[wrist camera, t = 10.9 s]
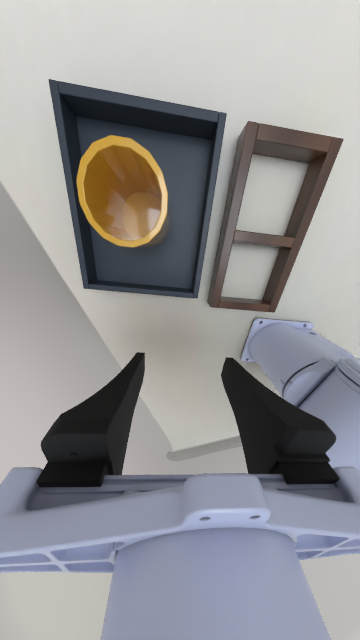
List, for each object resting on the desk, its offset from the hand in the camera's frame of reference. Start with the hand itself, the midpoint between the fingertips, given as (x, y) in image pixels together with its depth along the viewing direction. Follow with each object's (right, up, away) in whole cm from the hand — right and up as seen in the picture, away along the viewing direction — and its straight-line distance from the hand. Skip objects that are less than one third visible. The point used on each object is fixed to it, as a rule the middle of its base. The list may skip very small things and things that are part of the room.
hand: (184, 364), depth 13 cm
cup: (-4, +15, +3) cm, 16 cm away
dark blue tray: (-4, +15, +4) cm, 16 cm away
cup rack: (+9, +14, +5) cm, 17 cm away
